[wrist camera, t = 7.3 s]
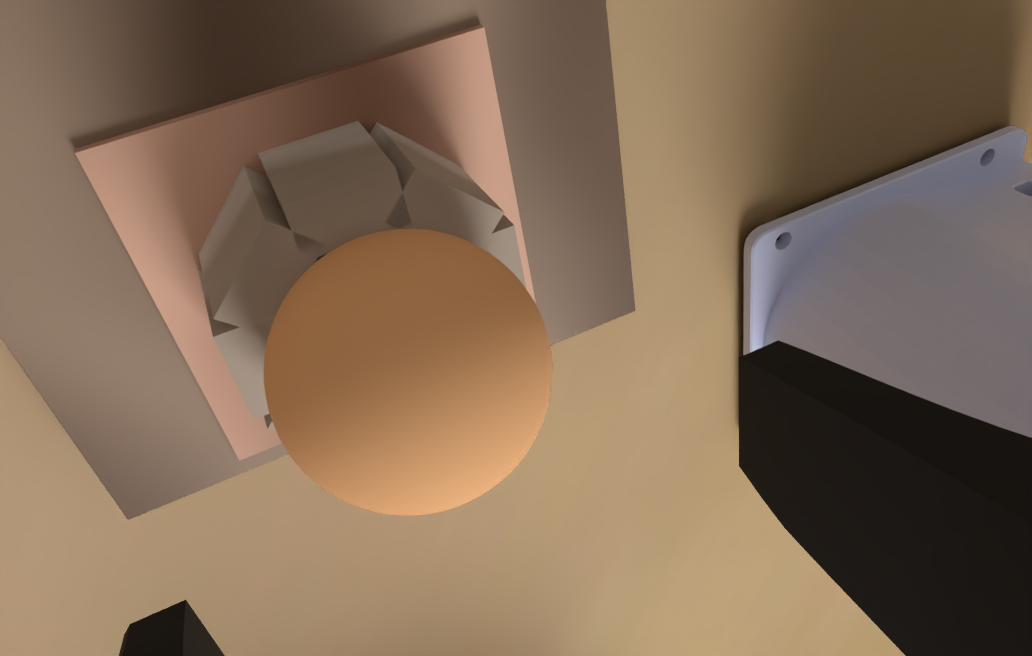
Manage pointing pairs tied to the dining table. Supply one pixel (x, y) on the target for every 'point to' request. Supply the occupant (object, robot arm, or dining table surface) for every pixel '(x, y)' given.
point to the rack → (276, 193)
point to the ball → (408, 371)
